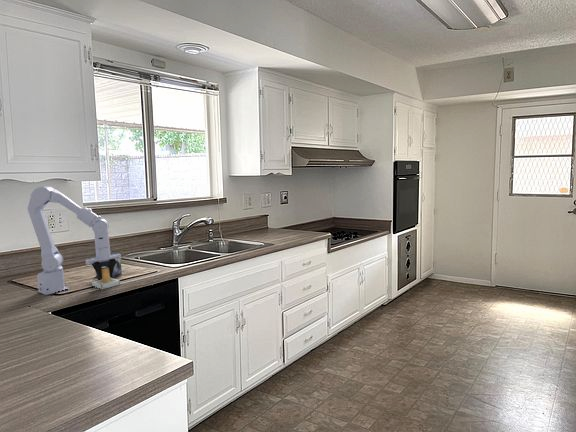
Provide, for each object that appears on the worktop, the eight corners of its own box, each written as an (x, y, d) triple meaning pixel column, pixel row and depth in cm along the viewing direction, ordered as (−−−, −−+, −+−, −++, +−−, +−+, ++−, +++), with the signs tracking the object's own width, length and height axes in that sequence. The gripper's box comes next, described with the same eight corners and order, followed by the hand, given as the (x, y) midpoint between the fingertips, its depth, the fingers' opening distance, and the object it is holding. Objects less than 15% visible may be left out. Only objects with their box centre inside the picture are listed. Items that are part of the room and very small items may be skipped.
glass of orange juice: (101, 283, 186) (99, 268, 186) (100, 281, 190) (98, 267, 189) (111, 281, 188) (109, 267, 188) (109, 280, 192) (108, 265, 191)
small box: (109, 280, 198) (107, 257, 196) (96, 280, 199) (94, 257, 198) (122, 274, 208) (121, 252, 207) (110, 274, 209) (108, 252, 208)
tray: (101, 289, 183) (101, 285, 183) (91, 286, 189) (91, 282, 188) (120, 284, 190) (119, 280, 190) (110, 281, 195) (109, 277, 195)
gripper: (115, 243, 195) (117, 272, 197) (81, 248, 185) (84, 279, 187) (122, 245, 190) (124, 275, 192) (87, 250, 180) (91, 282, 182)
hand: (105, 277), depth 189 cm, fingers closed on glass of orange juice, 4 cm apart
